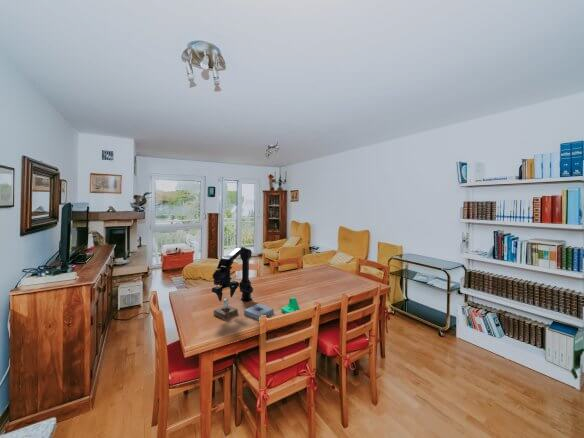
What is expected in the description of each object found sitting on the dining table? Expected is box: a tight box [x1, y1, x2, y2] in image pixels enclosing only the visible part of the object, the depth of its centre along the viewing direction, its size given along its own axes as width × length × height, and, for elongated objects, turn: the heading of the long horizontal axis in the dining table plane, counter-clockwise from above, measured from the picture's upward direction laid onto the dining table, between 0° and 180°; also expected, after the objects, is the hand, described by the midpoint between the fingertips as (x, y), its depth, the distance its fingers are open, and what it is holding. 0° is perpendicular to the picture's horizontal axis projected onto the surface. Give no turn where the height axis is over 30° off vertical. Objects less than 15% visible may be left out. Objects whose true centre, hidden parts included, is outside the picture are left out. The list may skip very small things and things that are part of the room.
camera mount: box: [280, 296, 301, 315], centre depth 171 cm, size 12×8×10 cm, turn 41°
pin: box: [222, 298, 229, 312], centre depth 167 cm, size 3×3×10 cm
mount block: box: [213, 305, 239, 320], centre depth 167 cm, size 11×11×3 cm
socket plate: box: [243, 303, 274, 321], centre depth 169 cm, size 14×14×3 cm
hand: (225, 299), depth 167 cm, fingers open, 9 cm apart
